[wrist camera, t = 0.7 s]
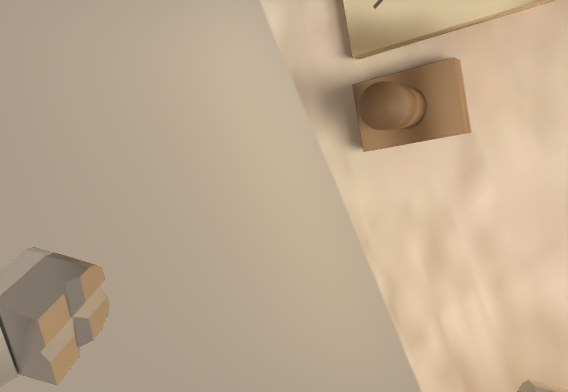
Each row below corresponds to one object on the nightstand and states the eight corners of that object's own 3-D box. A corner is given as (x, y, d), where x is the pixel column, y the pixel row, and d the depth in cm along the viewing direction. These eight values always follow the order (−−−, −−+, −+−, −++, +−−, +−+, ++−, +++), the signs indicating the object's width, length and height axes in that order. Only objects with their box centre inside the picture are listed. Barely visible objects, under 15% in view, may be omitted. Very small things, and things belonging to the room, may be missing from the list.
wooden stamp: (374, 149, 40) (334, 156, 33) (363, 86, 39) (321, 80, 33) (471, 132, 35) (449, 135, 29) (460, 61, 35) (435, 47, 28)
